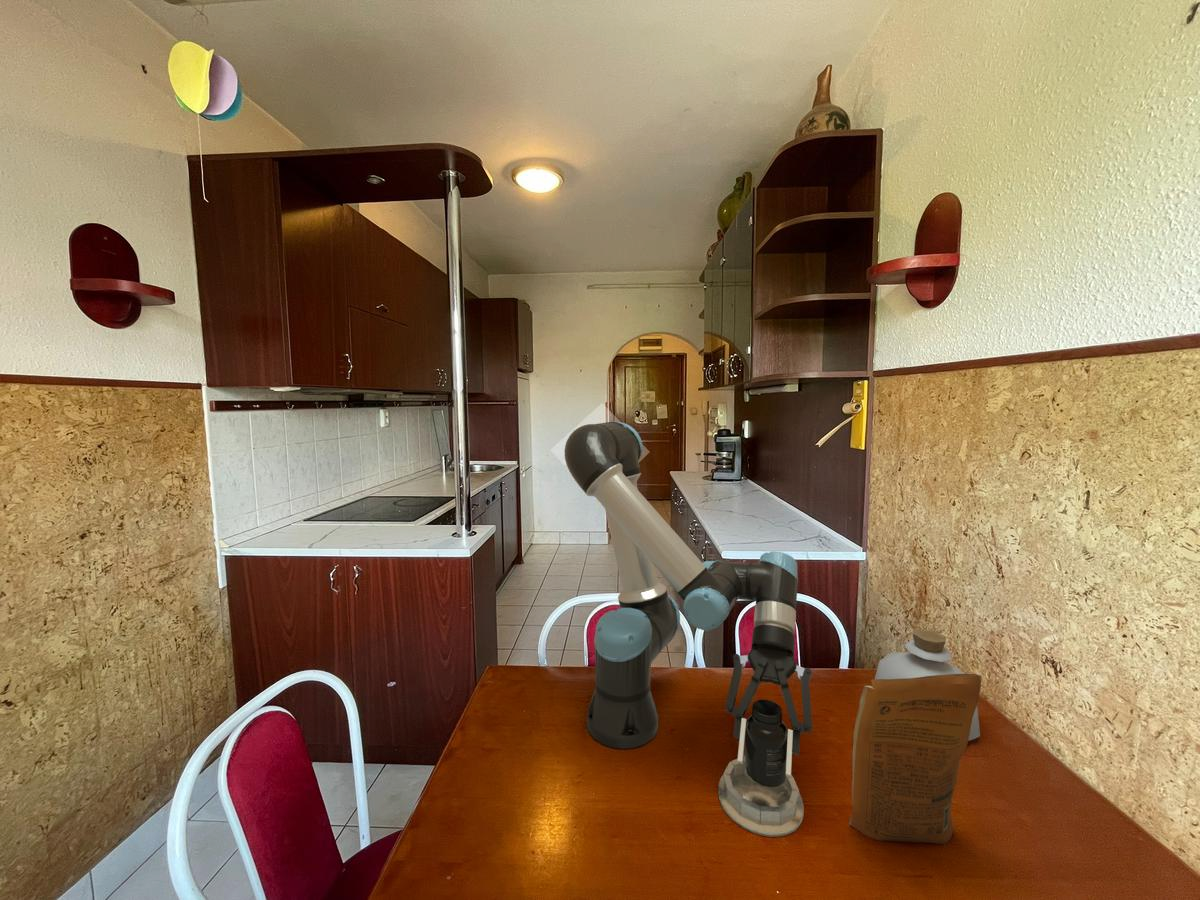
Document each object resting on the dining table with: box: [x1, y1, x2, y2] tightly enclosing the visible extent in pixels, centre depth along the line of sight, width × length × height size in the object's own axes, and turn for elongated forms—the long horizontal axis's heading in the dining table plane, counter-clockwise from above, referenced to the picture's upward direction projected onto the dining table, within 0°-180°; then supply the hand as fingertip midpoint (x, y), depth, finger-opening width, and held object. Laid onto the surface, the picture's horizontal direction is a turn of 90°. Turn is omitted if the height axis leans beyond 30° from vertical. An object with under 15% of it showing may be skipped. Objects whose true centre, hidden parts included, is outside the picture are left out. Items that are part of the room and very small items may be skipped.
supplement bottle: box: [744, 699, 788, 787], centre depth 83 cm, size 7×7×12 cm
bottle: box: [874, 628, 981, 742], centre depth 106 cm, size 20×20×19 cm
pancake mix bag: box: [848, 673, 983, 845], centre depth 77 cm, size 7×19×28 cm, turn 87°
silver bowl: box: [717, 755, 805, 838], centre depth 85 cm, size 14×14×4 cm
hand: (764, 768), depth 80 cm, fingers closed on supplement bottle, 7 cm apart
